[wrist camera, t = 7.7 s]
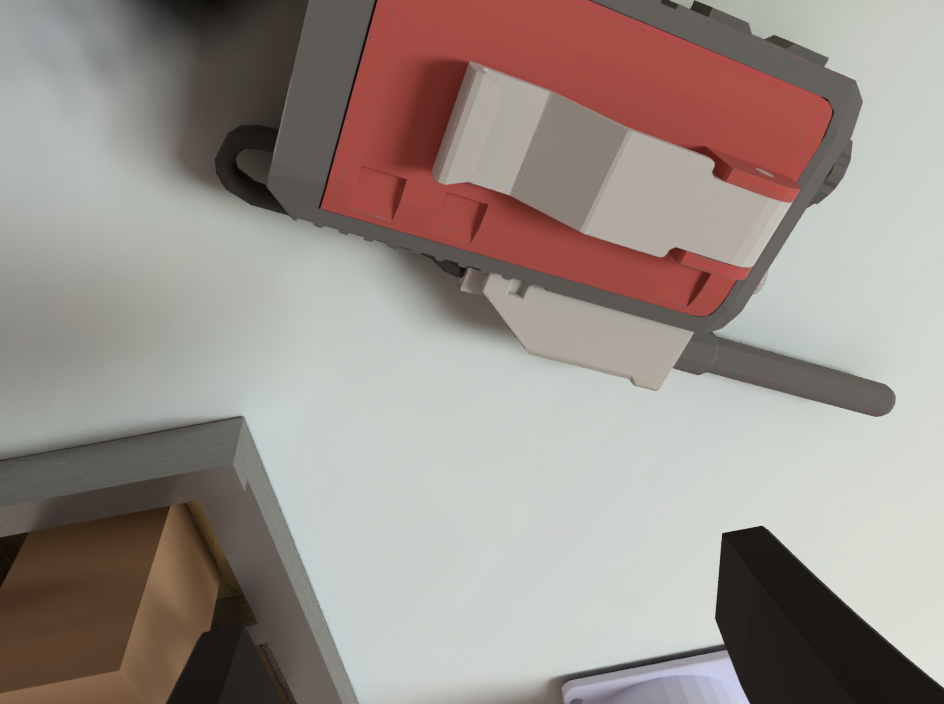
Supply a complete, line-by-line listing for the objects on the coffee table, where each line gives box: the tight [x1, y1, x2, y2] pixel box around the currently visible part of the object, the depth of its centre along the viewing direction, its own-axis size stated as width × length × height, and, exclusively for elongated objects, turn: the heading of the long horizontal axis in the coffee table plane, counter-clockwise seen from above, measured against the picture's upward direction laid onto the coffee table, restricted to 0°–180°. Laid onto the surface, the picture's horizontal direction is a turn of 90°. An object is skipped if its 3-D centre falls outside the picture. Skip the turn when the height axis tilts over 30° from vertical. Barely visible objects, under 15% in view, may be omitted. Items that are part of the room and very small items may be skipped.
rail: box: [0, 417, 359, 704], centre depth 22 cm, size 15×9×6 cm, turn 8°
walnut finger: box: [0, 503, 222, 704], centre depth 20 cm, size 5×4×6 cm
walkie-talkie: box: [215, 0, 896, 417], centre depth 17 cm, size 9×4×20 cm
